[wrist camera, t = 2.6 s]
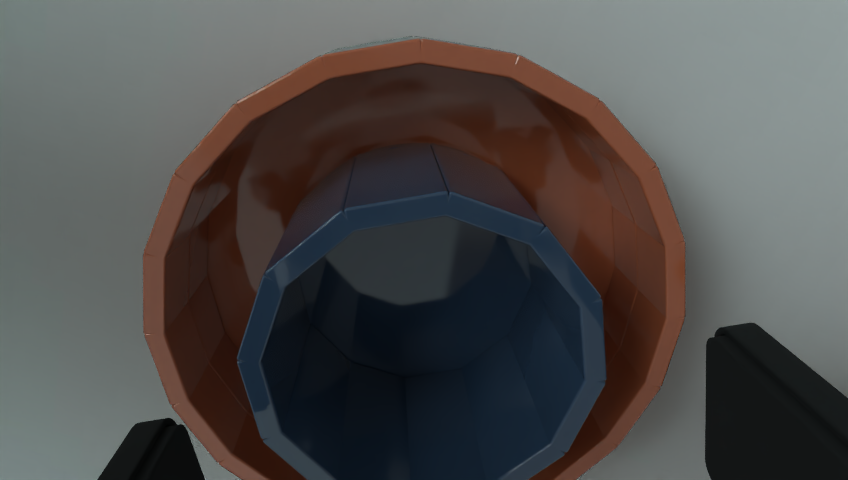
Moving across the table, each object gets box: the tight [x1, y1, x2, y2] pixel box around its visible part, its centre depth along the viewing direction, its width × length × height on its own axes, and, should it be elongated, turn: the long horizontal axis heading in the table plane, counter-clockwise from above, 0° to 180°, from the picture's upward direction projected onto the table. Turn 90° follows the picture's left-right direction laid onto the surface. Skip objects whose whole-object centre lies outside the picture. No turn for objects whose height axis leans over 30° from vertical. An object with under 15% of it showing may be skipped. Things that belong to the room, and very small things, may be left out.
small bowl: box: [237, 142, 607, 480], centre depth 15 cm, size 8×8×6 cm
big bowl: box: [143, 36, 685, 480], centre depth 16 cm, size 13×13×4 cm
